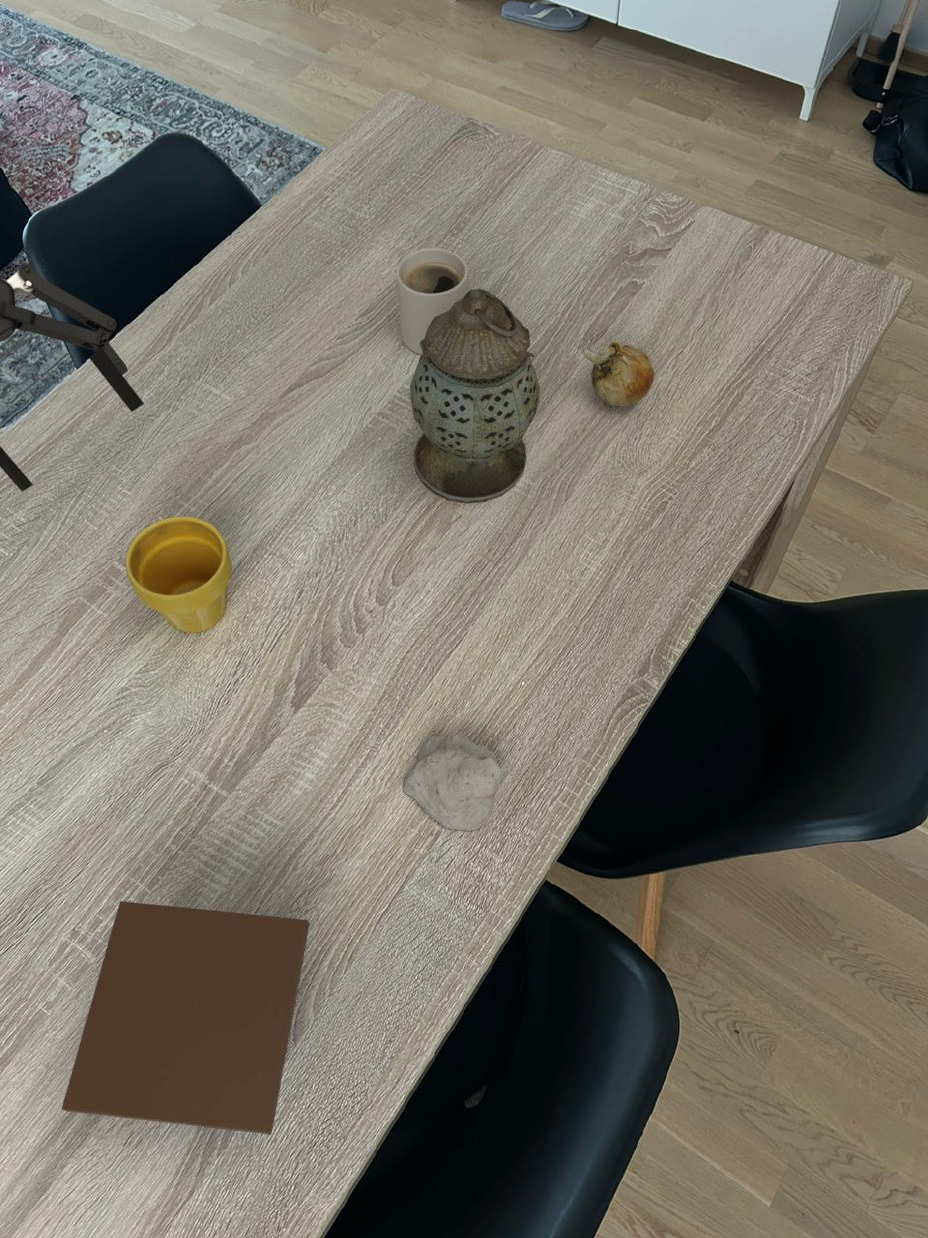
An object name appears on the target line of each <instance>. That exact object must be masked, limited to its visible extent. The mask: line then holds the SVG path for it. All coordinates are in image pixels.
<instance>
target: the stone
mask: <svg viewBox="0 0 928 1238" xmlns="http://www.w3.org/2000/svg"><path fill="white" fill-rule="evenodd" d="M502 776H503V771H502V769H501V767H500V765H499V762H498V759H497V757H496V755H495V753H494V752H493V751H492V750H491V749H489V748H488V746H487V745H478V744H477V743H475V742H474V741H473V740H471V739H470V738H468V737H466V736H463V735H460V734H453V735H444V736H443V735H437V734H435V735H431V736H430V737H425V739H424V742H423V743H422V745H421V747H420V750H418V752H417V762H416V763H415V765H414V767H412V768H411V770H410V771H409V772H408V773H407V775H406V777H405V778H404V780H403V785H402V790H403V791H404V793H405V795H407V796H410V797H411V798H413V799H414V800H415V801H416V802H417V804H418V805H419V806H420V808H422V809H423V810H424V811H425V812H426V813H427V814H428V815H429V816H430V817H431V818H432V819H433V820H435V821H436V822H437V823H438V824H439V825H441V826H442V827H444V828H446V829H450V830H455V831H467V832H471V831H476V830H478V829H480V828H481V827H482V826H484V824H486V822H487V821H488V819H489V815H490V811H491V809H492V806H493V802H494V798H495V797H494V796H495V793H496V791H497V790H498V788H499V786H500V783H501V780H502Z"/></svg>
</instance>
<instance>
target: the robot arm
mask: <svg viewBox="0 0 928 1238" xmlns="http://www.w3.org/2000/svg"><path fill="white" fill-rule="evenodd" d="M15 291H19V292H20V293H22V294H23V295H30V294H31V295H32V296H33V297H35V298H36V299H38V300H40V301H41V302H43V303H45V304H47V305H49V306H51V307H52V308H54V309H55V310H57V311H60V312H61V313H63V314H64V315H67V316H69V317H71V318H72V319H73V320H75V321H77V322H79V323H81V324H82V325H84V326H86V327H88V328H90V329H88V328H85V327H82V326H78V325H75V324H71V323H69V322H65V321H62V320H59V319H55V318H52V317H49V316H45V315H42V314H39V313H36V312H35V311H33V310H31V309H28V308H24V307H20V306H18V305H16V294H15ZM117 324H118V323H117V321H116V320H115V318H113V317H111V316H110V315H108V314H107V313H106V314H105V313H104V312H103V311H101V310H99V309H97V308H96V307H94V306H92V305H90V304H88V303H86V302H85V301H83V300H81V299H79V298H78V297H76V296H74V295H72V294H70V293H68V292H67V291H65V290H63V289H62V288H60V287H58V286H57V285H55V284H53V283H52V282H49V281H48V280H46V279H45V278H44V277H43V276H42V275H41V274H40V273H39V272H38V270H36V269H35V268H34V266H32V264H30V263H27V262H24V263H22V264H20V266H19V268H18V269H17V271H16V272H15V273H14V274H12V275H11V276H10V277H8V279H7V280H5V279H2V278H0V343H2V342H5V341H6V340H8V339H10V338H11V337H12V336H13V334H14V333H15V331H16V330H19V331H22V332H30V333H33V334H37V335H41V336H44V337H47V338H50V339H54V340H57V341H60V342H65V343H68V344H70V345H73V346H78V347H81V348H84V349H88V350H91V351H94V352H93V353H92V354H91V355H90V356H89V357H88V359H89V360H90V361H91V363H93V365H94V366H95V367H96V369H97V370H98V371H99V373H100V374H101V375H102V376H103V378H104V379H105V380H106V381H107V383H108V384H109V385H110V387H111V388H112V389H113V390H114V392H115V394H117V395H118V397H119V398H120V399H121V400H122V402H123V403H124V405H126V407H127V409H129V411H130V412H131V413H133V412H134V411H136V410H137V409H139V408H140V407H142V406H143V405H144V404H145V402H144V401H143V400H142V398H141V397H140V396H139V395H138V393H137V392H136V391H135V390H134V388H133V387H132V386H131V384H130V383H129V382H128V381H127V380H126V378H125V377H124V374H126V373H128V371H129V369H128V367H127V365H126V363H125V362H124V361H123V359H122V358H121V357H120V356H119V354H118V353H117V351H116V350H115V349H114V348H113V347H112V345H111V343H110V338H111V335H112V334H113V333H114V331H115V330H116V328H117V326H118V325H117ZM0 468H1V470H2V471H3V472H4V473H5V474H6V475H7V477H8V478H9V479H10V480H11V482H13V483H14V485H15V486H16V487H17V488H18V489H19V490H20V492H22V493H23V492H24V491H26V490H28V489H29V488H30V487H32V486H33V485H34V484H33V483H32V481H31V480H30V479H29V478H28V477H27V475H26V474H25V473H24V472H23V471H22V470H21V468H20V467H19V466H18V465H17V464H16V462H15V461H14V460H13V459H12V458H11V457H10V456H9V454H8V453H7V452H6V451H5V450H4V448H3V447H1V445H0Z"/></svg>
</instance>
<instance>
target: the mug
mask: <svg viewBox="0 0 928 1238" xmlns="http://www.w3.org/2000/svg"><path fill="white" fill-rule="evenodd" d="M468 268H469V267H468V265H467V263H466V261H465V260H464V259H463V257H461V256H460V255H459V254H458V253H456V252H454V251H451V250H448V249H445V248H441V247H426V248H422V249H417V250H414V251H412V252H410V253H408V254H407V255H405V256H404V257H403V258H402V259H401V260H400V261H399V263H398V264H397V267H396V270H395V278H396V289H397V290H396V291H397V302H398V316H399V327H400V337H401V340H402V343H404V345H405V346H406V347H407V348H408V349H409V350H410V351H412V352H414V353H415V354H418V355H420V356H421V355H422V354H423V351H422V349H421V346H420V341H421V340H423V339H424V338H425V335H426V332H427V329H428V327H429V325H430V324H431V322H432V320H433V319H434V317H436V316H438V315H440V314H443V313H445V312H447V311H449V309H450V308H451V307H452V306H453V305H454V304H455V302H457V301H458V300H460V299H462V298H463V297H464V296H465V295H466V293H467V292H469V269H468Z"/></svg>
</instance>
